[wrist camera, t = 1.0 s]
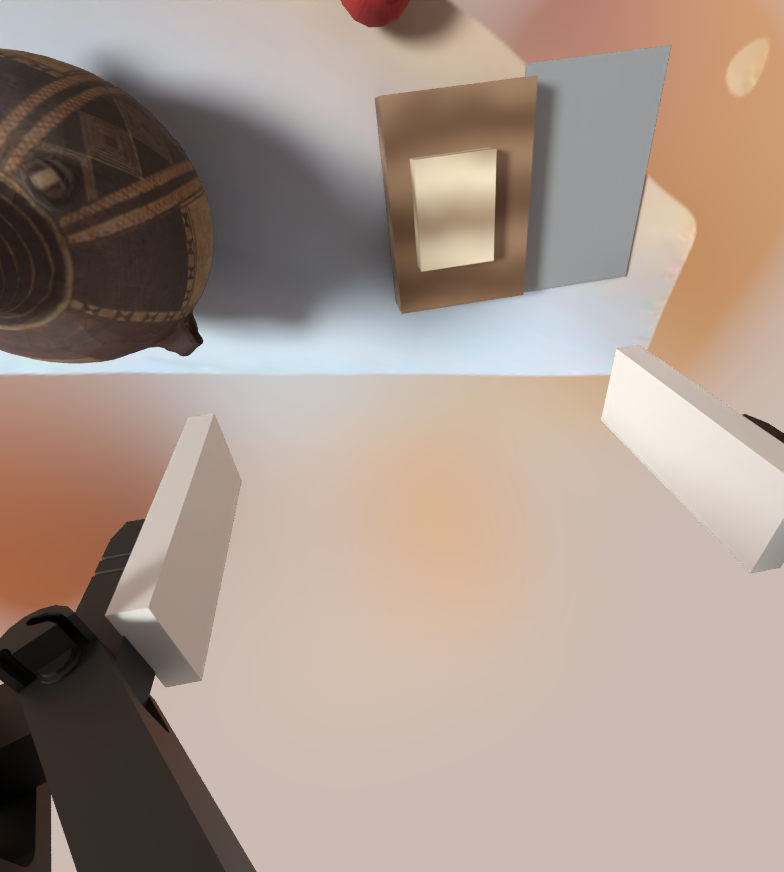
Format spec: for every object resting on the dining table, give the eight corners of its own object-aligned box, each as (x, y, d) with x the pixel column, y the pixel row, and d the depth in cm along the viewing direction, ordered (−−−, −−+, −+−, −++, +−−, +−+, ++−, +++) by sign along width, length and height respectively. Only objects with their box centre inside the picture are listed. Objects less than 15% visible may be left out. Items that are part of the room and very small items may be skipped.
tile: (409, 158, 38) (413, 160, 36) (488, 147, 38) (496, 148, 37) (417, 266, 43) (421, 271, 42) (487, 255, 44) (493, 260, 42)
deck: (374, 98, 39) (380, 95, 35) (519, 79, 39) (537, 75, 36) (395, 301, 49) (401, 313, 46) (509, 283, 50) (523, 294, 46)
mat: (525, 64, 39) (528, 63, 38) (666, 46, 39) (671, 45, 39) (513, 291, 50) (515, 293, 50) (622, 274, 51) (625, 276, 51)
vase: (260, 305, 47) (203, 496, 23) (78, 339, 46) (-181, 573, 22) (167, 13, 34) (-212, -278, 9) (-92, 54, 33) (-1219, -144, 9)
